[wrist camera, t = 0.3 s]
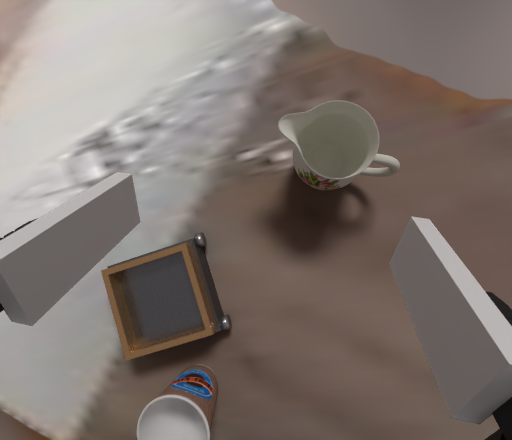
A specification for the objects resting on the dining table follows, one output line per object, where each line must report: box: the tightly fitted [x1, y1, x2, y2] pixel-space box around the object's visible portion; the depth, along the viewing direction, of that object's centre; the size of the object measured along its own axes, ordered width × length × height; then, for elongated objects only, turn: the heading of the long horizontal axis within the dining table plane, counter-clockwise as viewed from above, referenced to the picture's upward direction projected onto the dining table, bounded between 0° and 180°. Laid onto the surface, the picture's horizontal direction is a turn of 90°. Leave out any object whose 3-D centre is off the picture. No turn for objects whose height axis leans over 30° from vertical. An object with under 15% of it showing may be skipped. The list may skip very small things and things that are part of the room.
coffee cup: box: [137, 364, 218, 440], centre depth 41 cm, size 10×10×12 cm
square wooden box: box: [101, 232, 232, 361], centre depth 45 cm, size 17×17×6 cm
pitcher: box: [278, 100, 400, 190], centre depth 40 cm, size 11×18×14 cm, turn 73°
